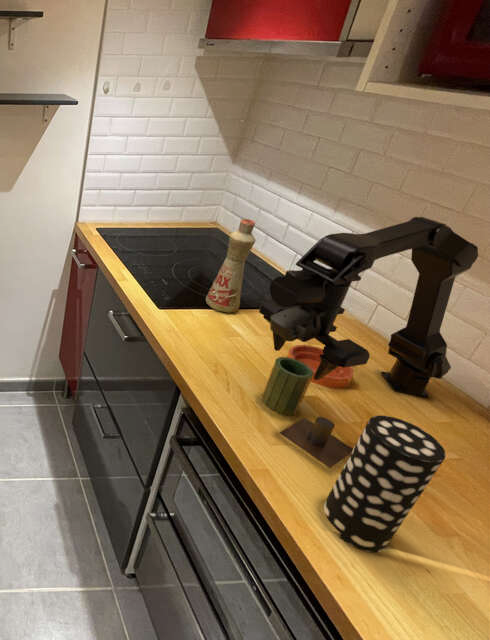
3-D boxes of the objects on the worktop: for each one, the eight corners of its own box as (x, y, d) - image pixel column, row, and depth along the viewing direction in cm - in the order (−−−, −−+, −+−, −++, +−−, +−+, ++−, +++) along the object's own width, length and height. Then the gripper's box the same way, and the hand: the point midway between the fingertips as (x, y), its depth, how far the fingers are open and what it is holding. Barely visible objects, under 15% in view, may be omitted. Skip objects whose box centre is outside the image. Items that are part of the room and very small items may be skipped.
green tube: (260, 392, 100) (276, 353, 96) (295, 404, 97) (312, 364, 93) (259, 409, 96) (275, 369, 91) (295, 423, 92) (313, 382, 88)
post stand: (302, 420, 93) (312, 399, 91) (353, 453, 86) (365, 430, 83) (277, 436, 89) (287, 413, 87) (328, 471, 82) (340, 448, 80)
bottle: (245, 314, 129) (275, 225, 117) (213, 314, 129) (240, 225, 118) (229, 298, 137) (255, 214, 125) (199, 298, 137) (223, 213, 125)
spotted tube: (399, 543, 70) (460, 454, 62) (362, 559, 68) (420, 468, 60) (344, 496, 78) (393, 410, 69) (309, 509, 75) (354, 421, 67)
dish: (278, 351, 114) (282, 340, 112) (335, 362, 110) (340, 351, 109) (294, 383, 103) (299, 371, 102) (357, 396, 100) (363, 384, 98)
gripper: (248, 279, 92) (228, 341, 98) (335, 333, 75) (304, 403, 82) (293, 275, 94) (270, 335, 101) (387, 326, 77) (353, 394, 84)
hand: (295, 364), depth 92 cm, fingers open, 9 cm apart
